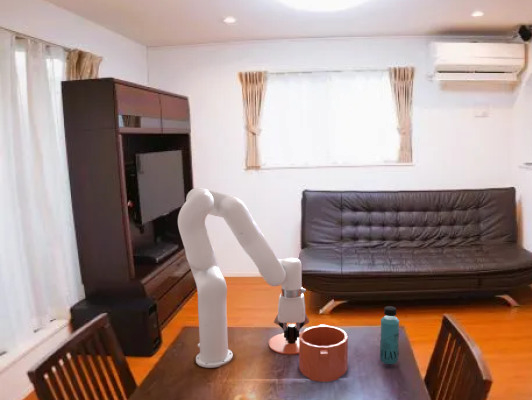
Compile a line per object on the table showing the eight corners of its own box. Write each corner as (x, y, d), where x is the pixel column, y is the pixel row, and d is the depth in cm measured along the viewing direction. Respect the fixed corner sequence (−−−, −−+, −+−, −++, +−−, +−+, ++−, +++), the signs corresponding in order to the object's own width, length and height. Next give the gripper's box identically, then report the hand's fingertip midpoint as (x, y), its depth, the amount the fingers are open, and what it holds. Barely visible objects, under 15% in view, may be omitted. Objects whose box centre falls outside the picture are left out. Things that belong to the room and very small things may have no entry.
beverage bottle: (377, 366, 145) (378, 310, 142) (382, 357, 151) (383, 303, 148) (396, 370, 143) (397, 312, 140) (400, 360, 149) (401, 305, 146)
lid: (266, 356, 152) (266, 335, 151) (271, 334, 169) (270, 316, 168) (314, 356, 152) (314, 335, 151) (314, 334, 169) (314, 316, 168)
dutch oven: (298, 386, 133) (298, 351, 131) (300, 353, 154) (300, 322, 153) (349, 386, 133) (350, 351, 132) (344, 352, 154) (345, 322, 153)
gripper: (313, 288, 161) (313, 334, 164) (270, 288, 161) (270, 334, 164) (313, 295, 154) (313, 343, 156) (268, 295, 154) (268, 344, 156)
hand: (291, 338), depth 160 cm, fingers closed on lid, 3 cm apart
